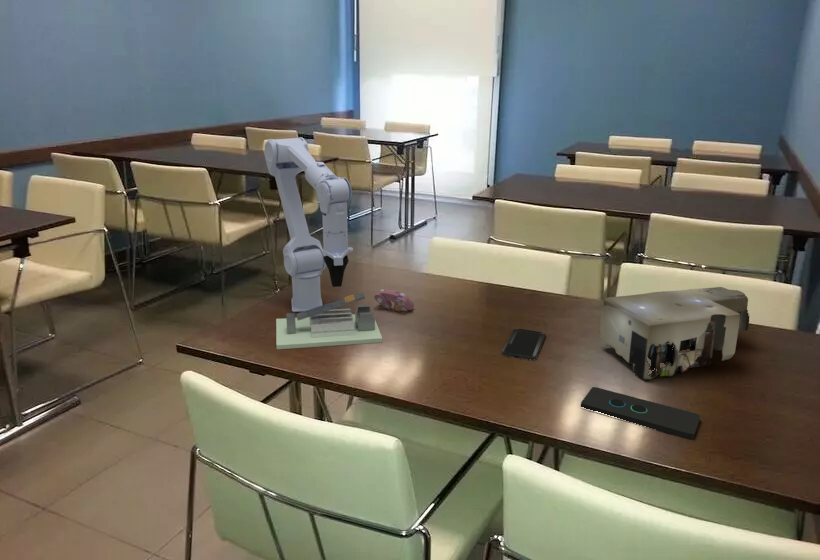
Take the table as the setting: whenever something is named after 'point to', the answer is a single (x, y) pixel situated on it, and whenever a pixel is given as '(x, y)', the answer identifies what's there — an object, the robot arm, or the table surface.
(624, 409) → the smart home device
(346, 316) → the heat sink
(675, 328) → the grey boxy piece
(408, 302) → the pink plastic car shape
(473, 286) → the table surface
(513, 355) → the phone
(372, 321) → the hinge and catch
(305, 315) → the bar
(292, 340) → the pale green board
